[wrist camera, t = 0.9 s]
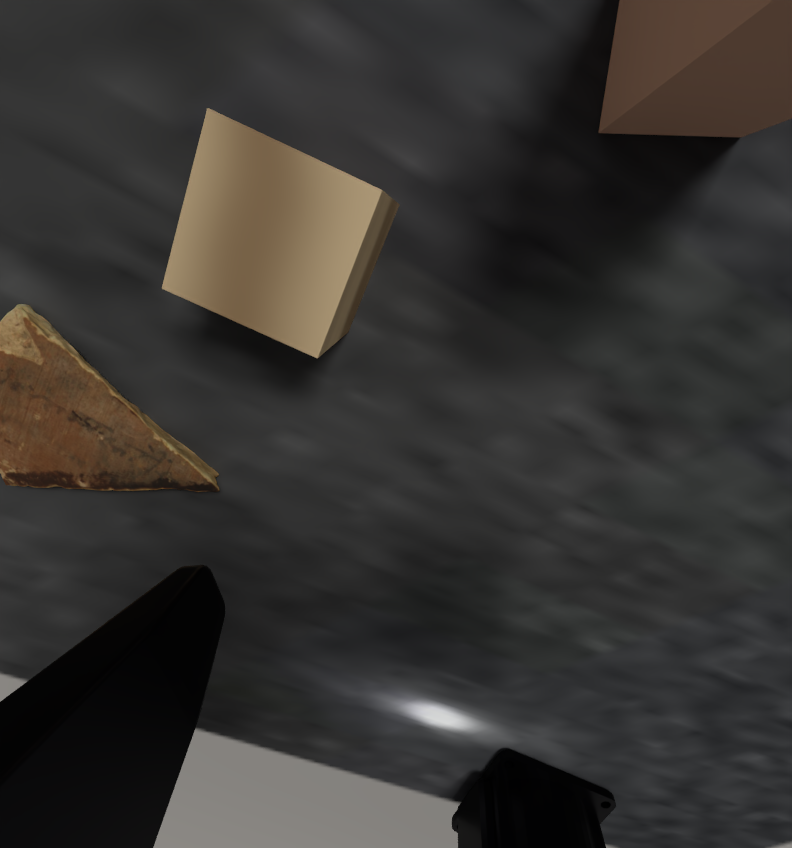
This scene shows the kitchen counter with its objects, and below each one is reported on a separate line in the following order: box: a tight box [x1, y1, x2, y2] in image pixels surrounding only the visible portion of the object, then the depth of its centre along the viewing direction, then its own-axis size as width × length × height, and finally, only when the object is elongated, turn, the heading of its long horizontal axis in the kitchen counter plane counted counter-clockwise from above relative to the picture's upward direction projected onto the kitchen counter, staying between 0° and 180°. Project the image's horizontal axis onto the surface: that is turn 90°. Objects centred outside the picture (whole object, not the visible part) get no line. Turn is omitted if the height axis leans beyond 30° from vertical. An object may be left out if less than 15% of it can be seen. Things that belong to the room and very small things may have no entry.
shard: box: [0, 304, 219, 492], centre depth 22 cm, size 11×8×2 cm
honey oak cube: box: [162, 108, 399, 359], centre depth 16 cm, size 5×5×5 cm
